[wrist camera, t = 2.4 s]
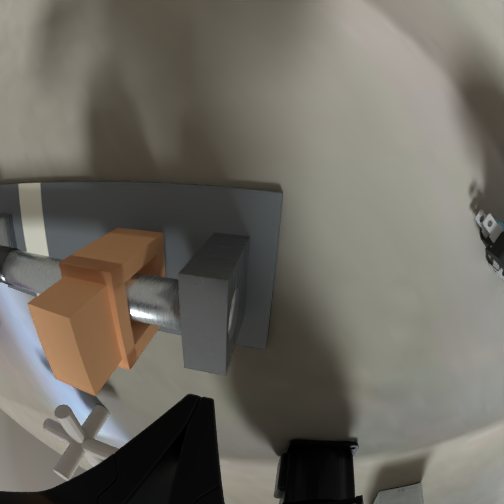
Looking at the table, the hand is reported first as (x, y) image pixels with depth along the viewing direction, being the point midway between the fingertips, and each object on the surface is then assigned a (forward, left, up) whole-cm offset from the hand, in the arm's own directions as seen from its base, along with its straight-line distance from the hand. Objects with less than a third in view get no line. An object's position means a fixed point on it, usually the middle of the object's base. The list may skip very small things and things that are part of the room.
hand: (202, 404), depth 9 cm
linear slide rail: (+11, 0, -10) cm, 15 cm away
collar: (+6, 0, -8) cm, 10 cm away
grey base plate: (+11, 0, -10) cm, 15 cm away
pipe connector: (+15, +19, -10) cm, 26 cm away
